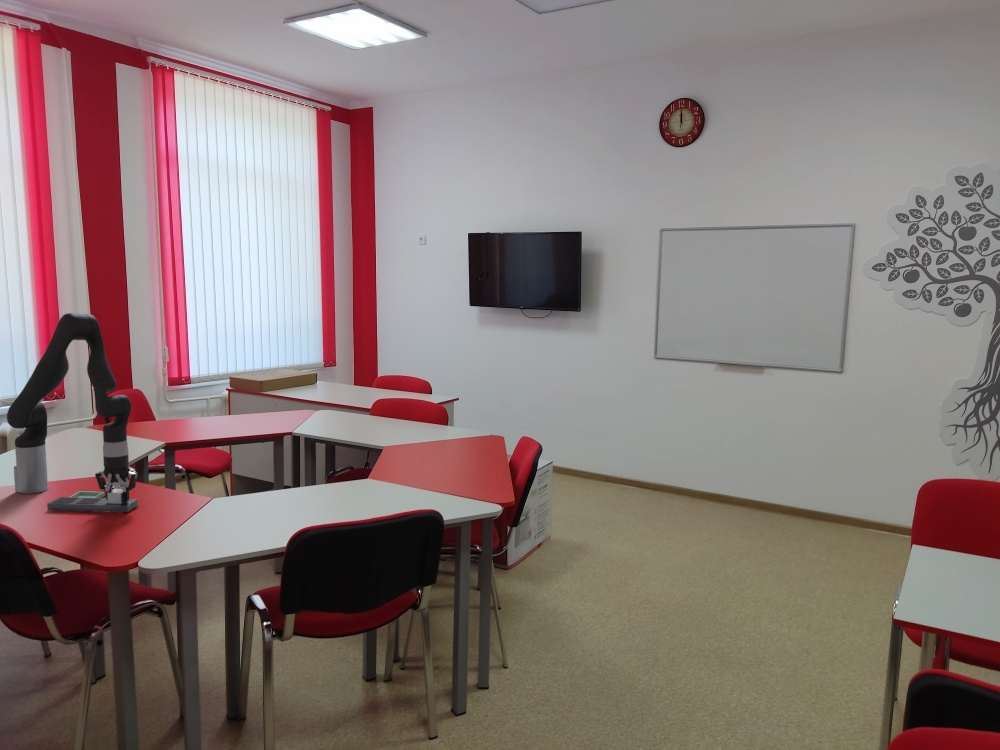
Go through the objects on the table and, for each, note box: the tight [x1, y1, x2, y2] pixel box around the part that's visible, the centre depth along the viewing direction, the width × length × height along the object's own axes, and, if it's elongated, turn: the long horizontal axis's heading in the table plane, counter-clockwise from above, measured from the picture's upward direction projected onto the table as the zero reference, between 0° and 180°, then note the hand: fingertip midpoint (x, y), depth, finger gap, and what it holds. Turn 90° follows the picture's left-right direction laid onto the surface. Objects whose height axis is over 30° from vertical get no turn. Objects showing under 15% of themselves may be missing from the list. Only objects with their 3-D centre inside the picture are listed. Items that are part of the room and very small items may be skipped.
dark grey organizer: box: [46, 496, 139, 513], centre depth 240 cm, size 27×7×3 cm, turn 91°
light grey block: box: [107, 489, 128, 505], centre depth 240 cm, size 4×4×6 cm
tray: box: [69, 490, 106, 498], centre depth 248 cm, size 9×9×2 cm
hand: (118, 501), depth 240 cm, fingers closed on light grey block, 4 cm apart
